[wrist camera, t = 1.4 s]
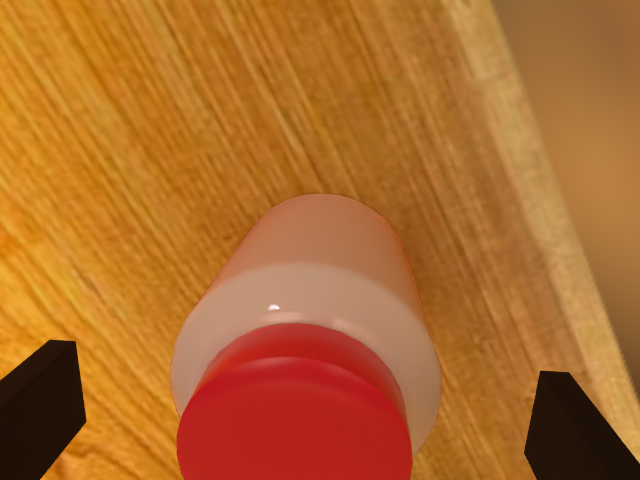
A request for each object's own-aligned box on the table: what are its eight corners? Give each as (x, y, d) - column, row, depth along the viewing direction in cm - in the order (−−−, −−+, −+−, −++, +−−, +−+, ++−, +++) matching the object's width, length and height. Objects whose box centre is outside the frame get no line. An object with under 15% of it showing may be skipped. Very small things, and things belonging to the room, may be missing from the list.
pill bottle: (445, 256, 21) (539, 431, 10) (345, 380, 23) (338, 627, 12) (295, 156, 20) (231, 237, 9) (206, 296, 22) (75, 486, 12)
